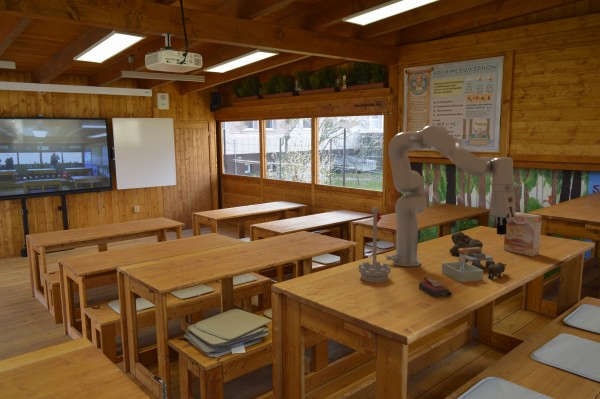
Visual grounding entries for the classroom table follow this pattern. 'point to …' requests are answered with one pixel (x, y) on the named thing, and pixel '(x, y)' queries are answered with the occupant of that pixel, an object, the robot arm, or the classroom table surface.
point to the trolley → (478, 257)
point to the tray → (469, 274)
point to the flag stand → (374, 258)
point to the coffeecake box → (523, 234)
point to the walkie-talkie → (434, 288)
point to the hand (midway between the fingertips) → (501, 234)
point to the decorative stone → (463, 242)
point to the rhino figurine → (496, 270)
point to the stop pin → (462, 259)
